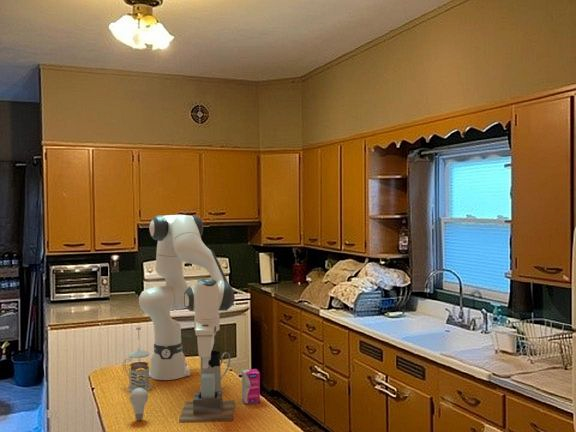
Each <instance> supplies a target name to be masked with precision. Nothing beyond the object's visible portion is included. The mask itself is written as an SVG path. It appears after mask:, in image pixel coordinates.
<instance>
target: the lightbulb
mask: <svg viewBox="0 0 576 432" xmlns="http://www.w3.org/2000/svg"><path fill="white" fill-rule="evenodd" d="M148 401H149V394H148V390H147V391H146V390H145V389H143V388H136V389H134V390H133V391H132V392H130V394H129V402H130V403H131V405H132V407H133V411H134V415H135V420H137V421H141V420H143V419H144V412H145V406H146V404H147V402H148Z"/></svg>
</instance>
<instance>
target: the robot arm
mask: <svg viewBox="0 0 576 432" xmlns="http://www.w3.org/2000/svg"><path fill="white" fill-rule="evenodd" d="M203 230H204V224H203V220H202V218H201V217H199V216H197V215H193V214H191V215H189V214H187V215H186V214H167V215H163V214H160V215H159V214H158V215H155V216H153V217H152V218H151V220H150V224H149V234H150V237H151V238H152V239H153V240H155V241H157V244H156V256H155V272H156V273H157V275H158V276H160V277H162V278H163V279H164V281H165V285H161V286H153V287H150V288H147V289H145V290H142V291H141V293H140V294H139V297H138V305H139V307H140V310H141V311H142V312H143V313H145V314H147V315H148V316H149V319H150V320H151V322H152V325H153V329H154V343H153V355H151V357H150V359H149V361H150V362H149V363H150V364H149V365H150V366H149V378H152V379H153V380H157V381H158V380H159V381H172V380H177V379H181V378H184V377H188V376H191V371H190V370H191V369H190V368H189V364H188V363H186V356H185V354H184V352H183V342H182V327H181V323H180V322H179V321H177V320H176V319H173V318H172V315H171V312H172V311H177V310H178V311H179V310H183V309H185V308H186V309H187V310H188V311H189V312H193V313H194V316H193V318H194V319H193V321H194V324H193V325H194V326H193V327H194V328H193V329H194V332H195V336H197V337H196V340H197V353H198V358H200V359H201V358H202V361H203V368H208V361H210V359H211V351H213V347H214V344H215V336H216V335H217V332H218V331H220V318H221V316H220V313H219V312H221V311H222V312H224V311H225V312H227V311H228V310H229V309H230V308H231V307H232V306H233V305H234V303H235V299H236V298H235V297H236V296H235V293H234V292H235V291H234V289H233V287H232V286H231V285H230V283H229V281H228V279H227V278H226V276H225V273H224V271H223V269H222V267H221V264H220V261H219V260H218V258H217V256H216V254H215V252H214V251H213V250H212V249H210V248H209V247H208V246H206V244H205V243H204V242H203V240H202V235H203V232H204V231H203ZM183 262H184V263H186V264H190V265H195V266H197V267H201V268H202V269H205V270H206V271H207V272H208V274H209V275H210V277H209V278H208V277H207V278H205V277H203V278H199V279H197V280H196V282H195V284H194V285H191V286H190V284H189V283H187V281H186V279H185V277H184V272H183Z"/></svg>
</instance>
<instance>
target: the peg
mask: <svg viewBox="0 0 576 432" xmlns="http://www.w3.org/2000/svg"><path fill="white" fill-rule="evenodd" d="M200 389H201V399H202V398H215V374H202V376H201V375H200Z"/></svg>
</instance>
